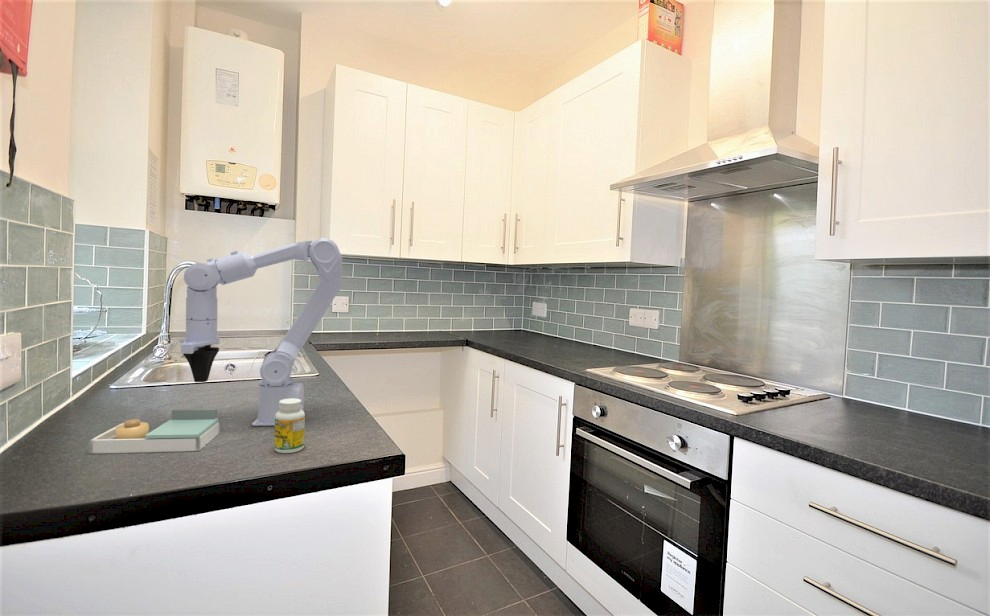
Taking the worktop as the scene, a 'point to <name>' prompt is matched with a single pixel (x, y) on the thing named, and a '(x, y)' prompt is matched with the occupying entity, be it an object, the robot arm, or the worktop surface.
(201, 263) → the robot arm
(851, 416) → the worktop surface
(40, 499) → the worktop surface
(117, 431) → the domed oval button
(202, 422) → the lid
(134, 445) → the housing
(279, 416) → the supplement bottle
